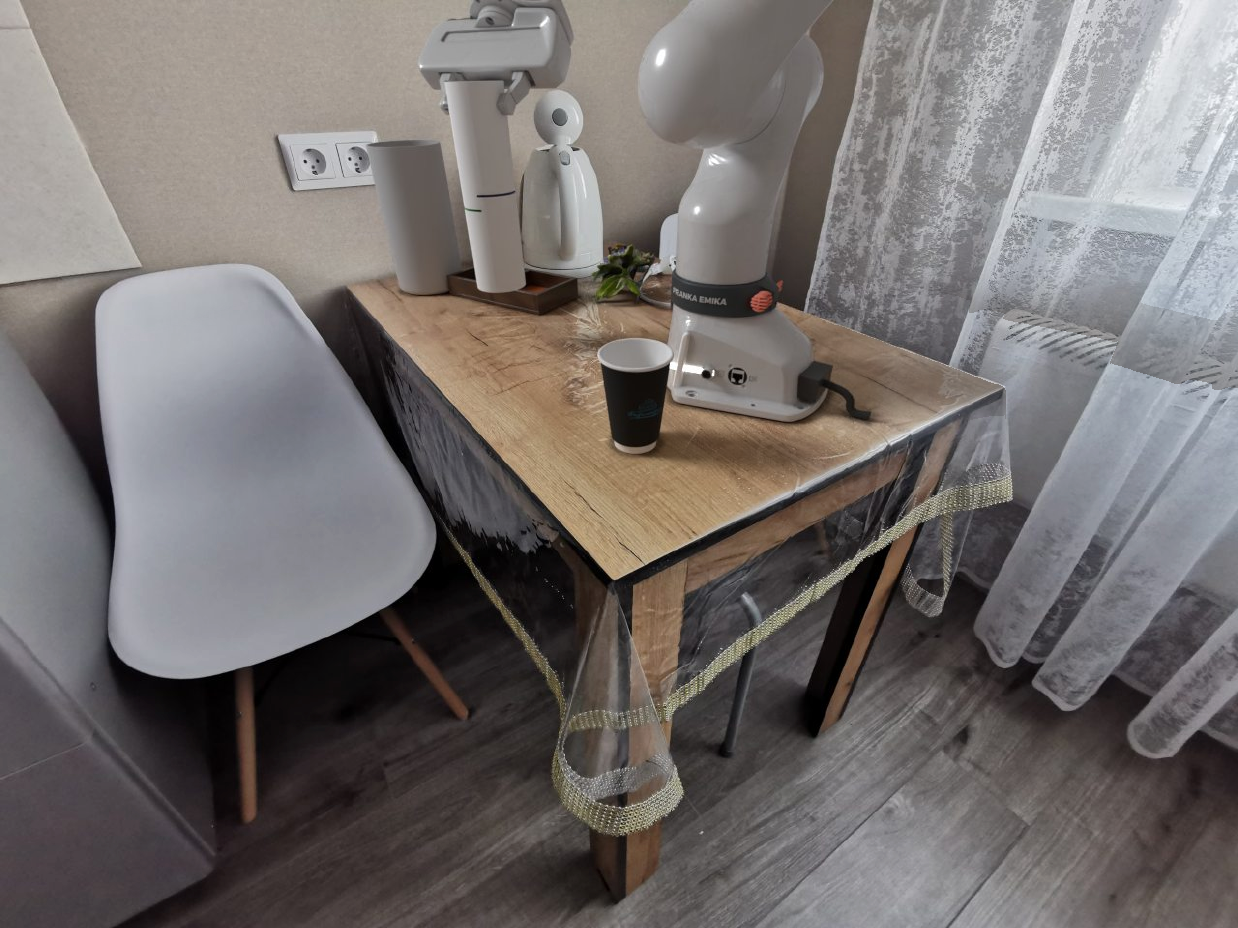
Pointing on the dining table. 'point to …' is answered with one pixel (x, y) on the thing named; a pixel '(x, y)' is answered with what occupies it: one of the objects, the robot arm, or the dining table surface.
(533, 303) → the tray
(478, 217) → the cylindrical container
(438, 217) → the cylinder vase
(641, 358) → the dixie cup
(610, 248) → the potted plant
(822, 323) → the dining table surface
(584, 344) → the dining table surface
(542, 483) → the dining table surface
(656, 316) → the dining table surface
